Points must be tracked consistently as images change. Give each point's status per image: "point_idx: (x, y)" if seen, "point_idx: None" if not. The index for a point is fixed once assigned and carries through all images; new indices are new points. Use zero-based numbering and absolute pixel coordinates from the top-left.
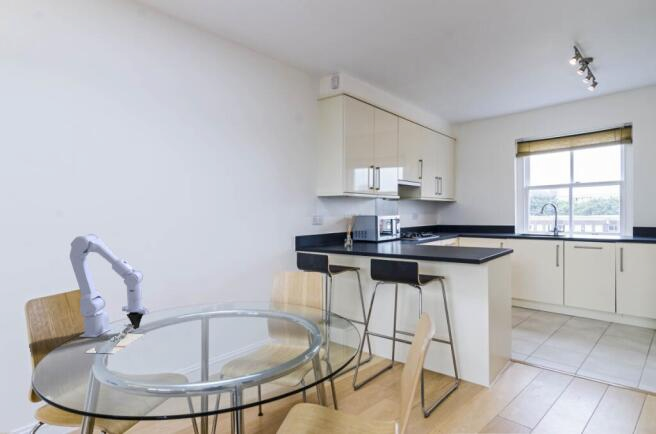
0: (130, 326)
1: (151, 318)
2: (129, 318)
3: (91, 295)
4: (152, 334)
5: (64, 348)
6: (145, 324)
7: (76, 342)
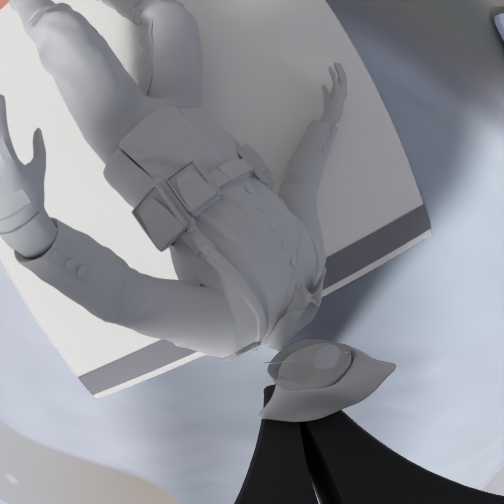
0: (204, 353)
1: None
2: (427, 496)
3: None
4: (30, 402)
5: None
6: None
7: None
